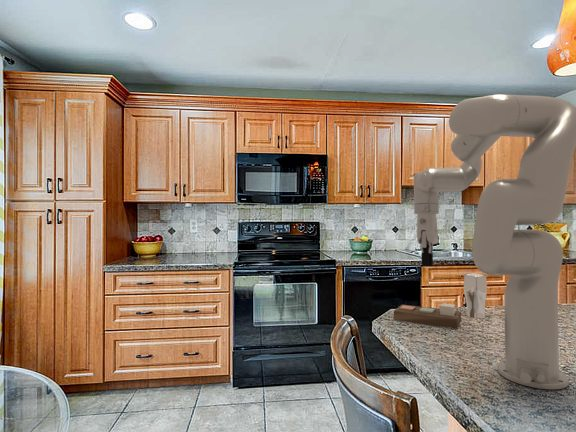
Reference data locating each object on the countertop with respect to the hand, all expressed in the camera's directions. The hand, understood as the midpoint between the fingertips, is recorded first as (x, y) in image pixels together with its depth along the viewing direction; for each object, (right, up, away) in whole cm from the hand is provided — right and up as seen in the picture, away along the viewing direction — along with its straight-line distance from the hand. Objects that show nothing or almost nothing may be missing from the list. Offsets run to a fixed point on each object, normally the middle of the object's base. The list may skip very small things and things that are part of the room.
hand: (427, 265), depth 116 cm
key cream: (+5, -15, -3) cm, 17 cm away
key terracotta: (-5, -18, +3) cm, 19 cm away
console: (0, -19, 0) cm, 19 cm away
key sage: (0, -18, 0) cm, 18 cm away
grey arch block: (+18, -19, +5) cm, 27 cm away
